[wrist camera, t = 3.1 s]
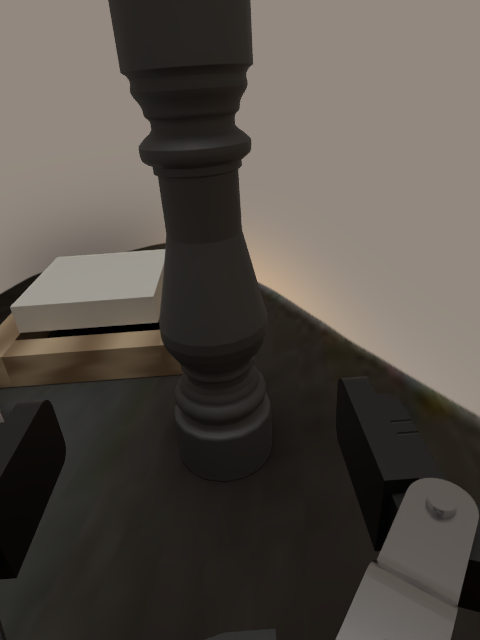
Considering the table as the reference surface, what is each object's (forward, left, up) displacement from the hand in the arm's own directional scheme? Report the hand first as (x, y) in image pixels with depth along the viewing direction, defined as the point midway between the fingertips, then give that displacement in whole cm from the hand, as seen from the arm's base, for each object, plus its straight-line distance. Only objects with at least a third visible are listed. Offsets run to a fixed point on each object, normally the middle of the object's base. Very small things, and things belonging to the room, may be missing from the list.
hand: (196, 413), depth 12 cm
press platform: (-11, +30, -10) cm, 33 cm away
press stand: (-12, +30, -13) cm, 34 cm away
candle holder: (0, +12, -13) cm, 18 cm away
